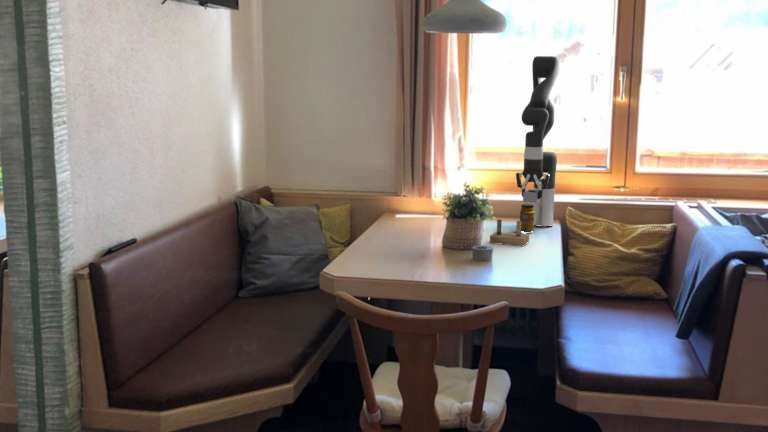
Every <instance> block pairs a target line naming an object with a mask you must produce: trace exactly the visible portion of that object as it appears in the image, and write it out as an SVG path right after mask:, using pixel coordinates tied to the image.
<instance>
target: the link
mask: <svg viewBox="0 0 768 432" xmlns="http://www.w3.org/2000/svg"><path fill="white" fill-rule="evenodd" d="M540 200H541V199H538V190H534V189H526V191H524V192H523V197H522V202H523V203H532V204H533V203H537V202H538V201H540Z"/></svg>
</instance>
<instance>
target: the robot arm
mask: <svg viewBox="0 0 768 432" xmlns="http://www.w3.org/2000/svg"><path fill="white" fill-rule="evenodd" d="M531 67H532V69H531V70H532V87H533V88H532V93H531V96H530V101H529V102H528V103H527V105H526V106H525V107H524V109H523V110H522V113H521V122H522V124H524V125H525V126H530V127H531V126H532V131H528V132H526V134H525V139H524V140H525V141H524V142H525V145H524V151H523V153H524V154H523V158H524V159H523V170H522V172H516V173H515V178H516V185H517V188H519V189H521V197H522V198H523V192H524V191H526V190H527V189H526V188H527V186H528V184H529V183H533V190H538V199H541V200H540V201H538V202H537V203H532V205H534V225H541V226H549V225H553V226H554V212H555V211H554V210H555V192H556V191H555V188H556V172H557V163H558V162H557V161H558V160H557V159H558V157H557V154H556V153H555V152H554V151H544V147H543V146H544V139H545V138H546V137H547V135H548V134H549V132H551V129H552V128H553V125H554V124H555V106H554V104H553V102H552V101H551V99H550V94H551V91H552V90H553V87H554V86H555V82H556V81H557V78H558V76H559V72H560V59H559V58H558V57H557V56H555V55H554V56H553V55H552V56H551V55H547V56H546V55H541V56H540V55H538V56H534V58H533V59H532V66H531ZM542 79H543V80H542ZM522 177H523V178H524V181H523V182H522V179H521V178H522ZM542 177H543V178H542ZM522 183H523V184H522Z"/></svg>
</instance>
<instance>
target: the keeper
mask: <svg viewBox="0 0 768 432" xmlns="http://www.w3.org/2000/svg"><path fill="white" fill-rule="evenodd" d="M502 221H503V220H502V219H500V218H499V219H498V218H497V219H496V231H495V232H493V233H492V234H491V235H489V244H495V243H502V244H501V245H506V244H513V245H512V246H517V245H525V244H526V243H527V242H528V241H529V242H530V234H521V221H520V220H516V226H515V227H516V228H515V231H516V233H515V232H503V231H502V226H503V225H502ZM529 242H528V243H529ZM528 243H527V244H528ZM527 244H526V245H527ZM526 245H525V246H526Z"/></svg>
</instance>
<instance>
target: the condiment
mask: <svg viewBox="0 0 768 432" xmlns="http://www.w3.org/2000/svg"><path fill="white" fill-rule="evenodd" d="M519 221H521V231H524V232H531V231H534V227H535V226H534V205H533V203H532V204H531V203H523V204H521V208H520V211H519Z"/></svg>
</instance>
